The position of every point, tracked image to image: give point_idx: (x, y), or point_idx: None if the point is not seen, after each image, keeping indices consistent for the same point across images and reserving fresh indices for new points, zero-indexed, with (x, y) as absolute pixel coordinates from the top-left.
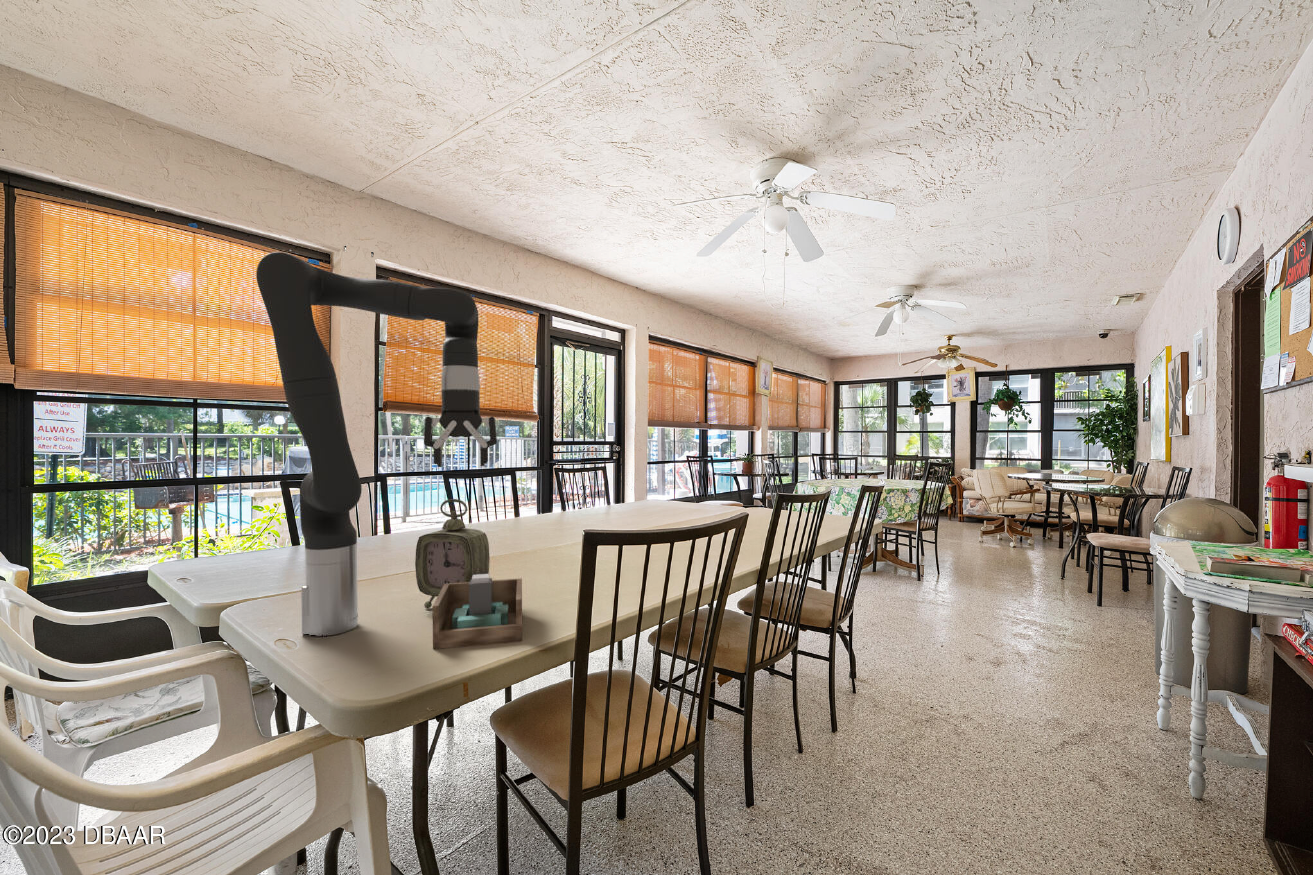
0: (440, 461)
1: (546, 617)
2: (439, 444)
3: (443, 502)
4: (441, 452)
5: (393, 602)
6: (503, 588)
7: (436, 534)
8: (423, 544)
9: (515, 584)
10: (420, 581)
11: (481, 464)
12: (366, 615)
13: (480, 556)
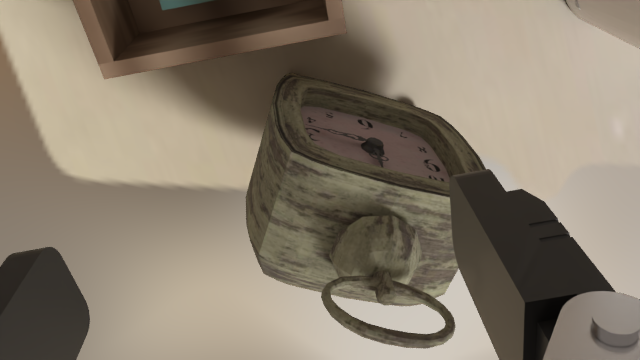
0: (468, 197)
1: (53, 14)
2: (575, 355)
3: (445, 335)
4: (504, 327)
5: (512, 167)
6: (162, 45)
7: (427, 190)
8: None
9: (122, 55)
10: (445, 127)
11: (34, 250)
12: (556, 70)
13: (259, 162)
